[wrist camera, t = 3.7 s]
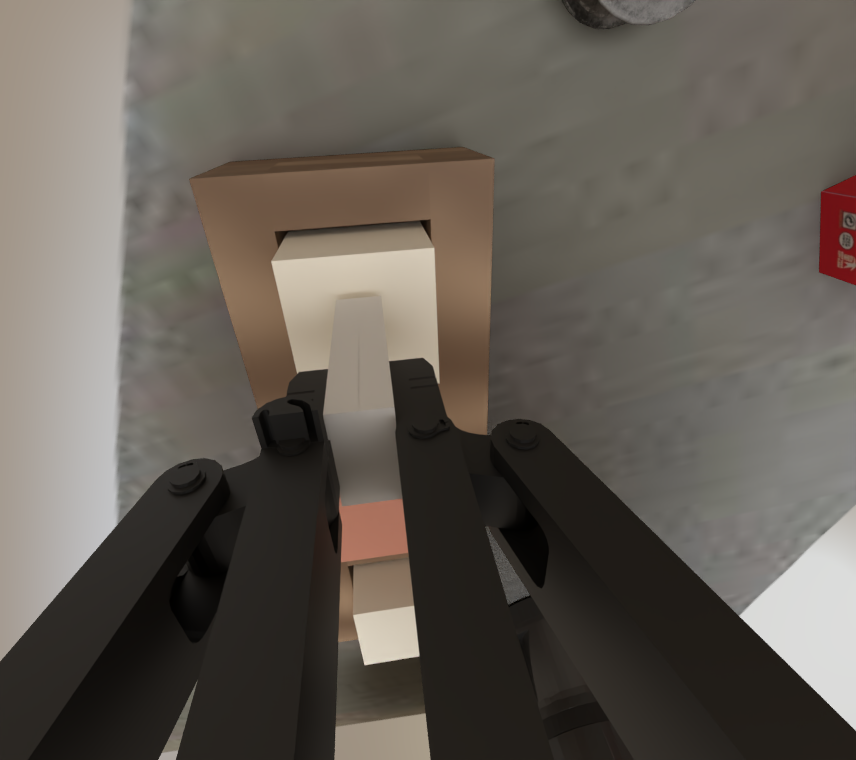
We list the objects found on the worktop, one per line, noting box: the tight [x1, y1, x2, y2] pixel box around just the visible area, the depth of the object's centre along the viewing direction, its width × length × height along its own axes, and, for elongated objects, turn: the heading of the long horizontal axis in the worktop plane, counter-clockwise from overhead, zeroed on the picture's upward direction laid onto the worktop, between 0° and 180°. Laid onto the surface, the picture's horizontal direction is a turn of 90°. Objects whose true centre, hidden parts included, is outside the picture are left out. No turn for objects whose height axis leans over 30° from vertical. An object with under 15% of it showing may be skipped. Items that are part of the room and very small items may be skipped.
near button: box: [271, 221, 440, 383], centre depth 18 cm, size 5×5×4 cm
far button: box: [353, 557, 419, 665], centre depth 29 cm, size 5×5×4 cm
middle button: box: [339, 498, 408, 562], centre depth 23 cm, size 5×5×4 cm
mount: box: [189, 147, 494, 642], centre depth 27 cm, size 30×11×6 cm, turn 3°
